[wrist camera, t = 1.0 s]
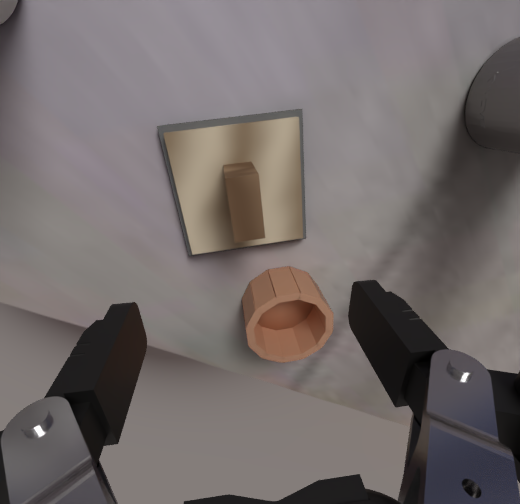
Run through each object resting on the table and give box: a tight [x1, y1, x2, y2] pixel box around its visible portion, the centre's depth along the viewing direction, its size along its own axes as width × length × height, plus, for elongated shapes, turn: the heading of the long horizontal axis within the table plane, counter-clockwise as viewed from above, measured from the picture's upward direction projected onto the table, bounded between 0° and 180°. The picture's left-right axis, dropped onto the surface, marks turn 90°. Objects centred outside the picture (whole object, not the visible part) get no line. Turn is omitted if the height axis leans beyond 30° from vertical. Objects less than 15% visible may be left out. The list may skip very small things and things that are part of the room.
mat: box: [157, 109, 306, 256], centre depth 27 cm, size 12×12×1 cm
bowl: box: [242, 266, 333, 363], centre depth 32 cm, size 9×9×5 cm
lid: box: [163, 117, 303, 255], centre depth 24 cm, size 11×11×6 cm
